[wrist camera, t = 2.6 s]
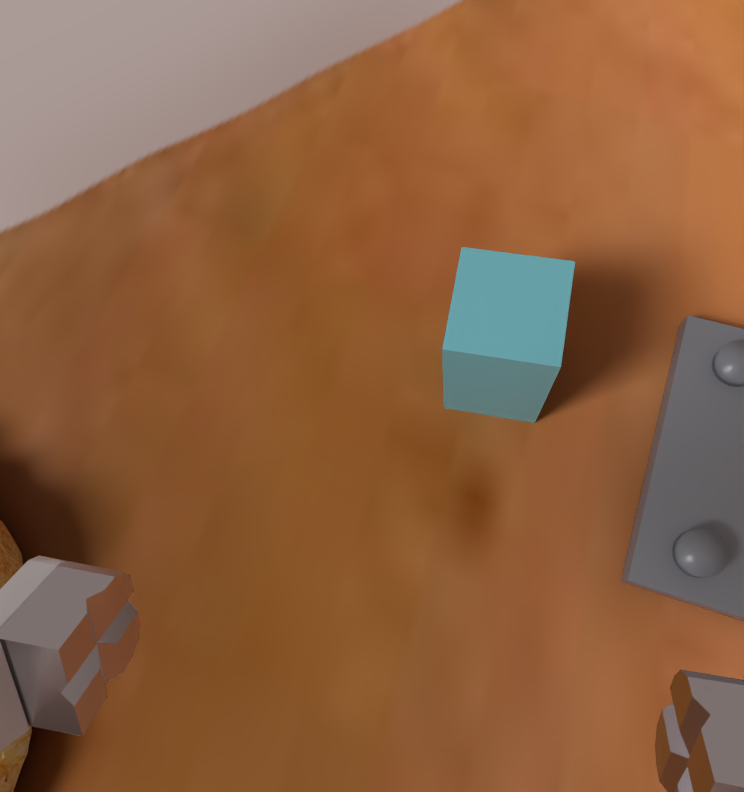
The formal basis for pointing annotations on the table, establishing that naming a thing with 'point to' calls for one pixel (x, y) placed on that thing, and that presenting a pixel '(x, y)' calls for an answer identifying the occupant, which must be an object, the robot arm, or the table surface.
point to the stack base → (696, 477)
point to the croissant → (5, 765)
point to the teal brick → (505, 333)
